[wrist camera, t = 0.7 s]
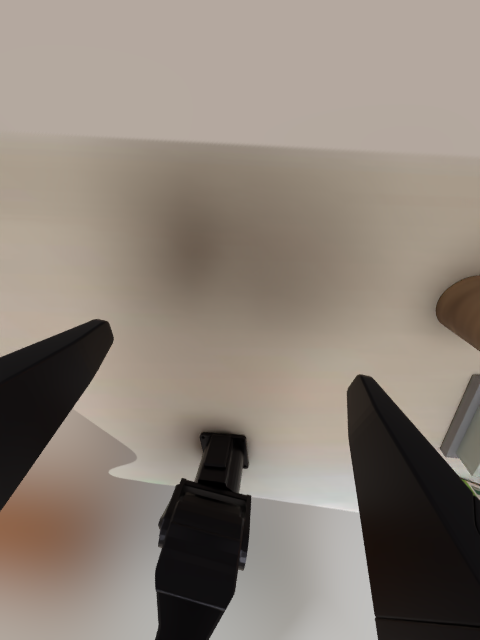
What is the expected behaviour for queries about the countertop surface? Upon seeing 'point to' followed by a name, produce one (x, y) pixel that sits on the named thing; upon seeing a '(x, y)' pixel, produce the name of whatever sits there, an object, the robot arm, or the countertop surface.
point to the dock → (466, 430)
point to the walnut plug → (462, 310)
